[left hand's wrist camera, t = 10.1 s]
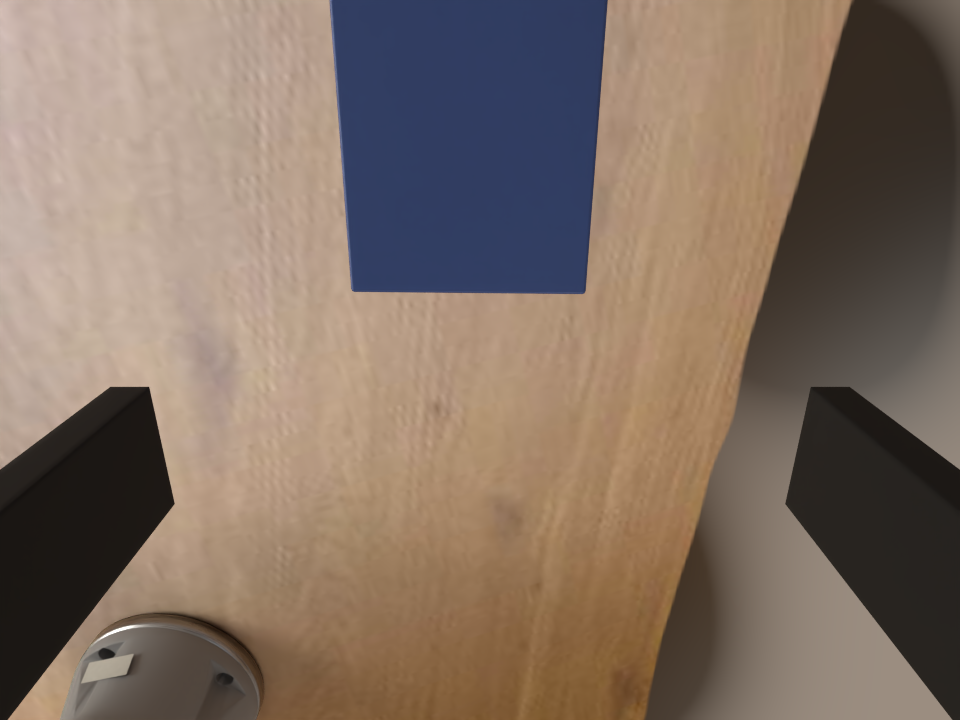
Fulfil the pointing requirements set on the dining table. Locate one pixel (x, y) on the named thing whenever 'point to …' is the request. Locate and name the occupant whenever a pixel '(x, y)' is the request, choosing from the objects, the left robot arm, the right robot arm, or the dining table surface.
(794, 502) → the left robot arm
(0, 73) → the dining table surface
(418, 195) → the box
